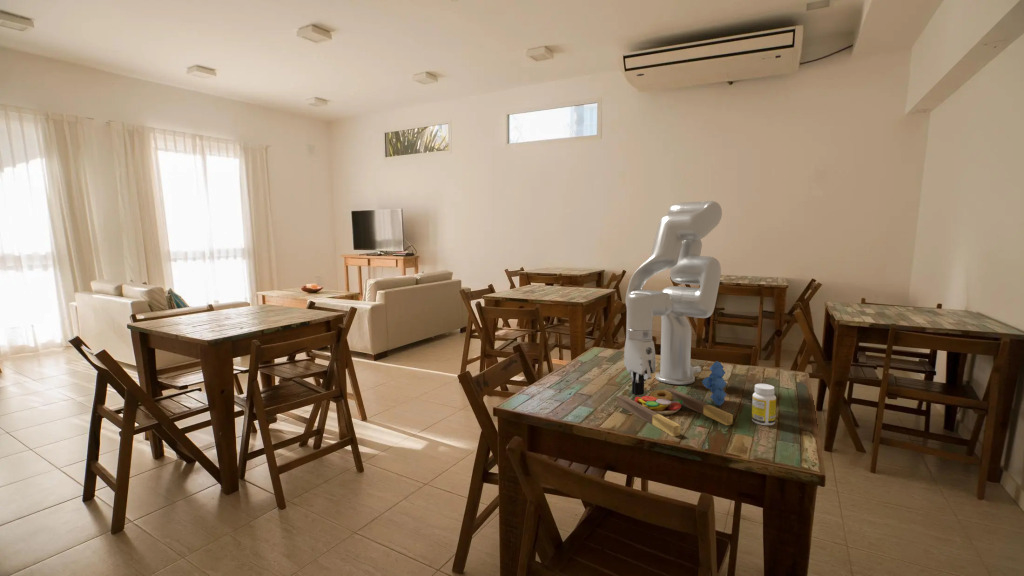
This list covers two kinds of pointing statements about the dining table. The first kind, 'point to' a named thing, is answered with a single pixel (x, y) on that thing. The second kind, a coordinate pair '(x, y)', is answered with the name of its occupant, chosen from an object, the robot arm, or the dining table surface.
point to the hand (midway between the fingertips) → (637, 393)
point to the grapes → (716, 383)
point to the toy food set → (660, 402)
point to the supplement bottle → (764, 404)
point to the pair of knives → (667, 424)
